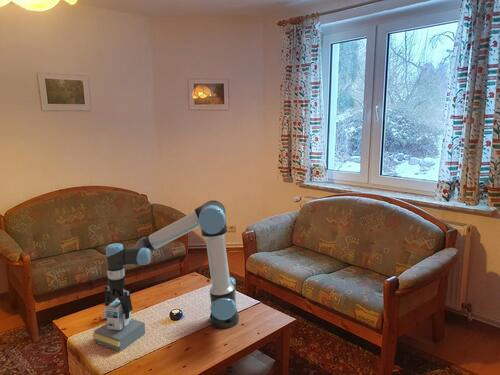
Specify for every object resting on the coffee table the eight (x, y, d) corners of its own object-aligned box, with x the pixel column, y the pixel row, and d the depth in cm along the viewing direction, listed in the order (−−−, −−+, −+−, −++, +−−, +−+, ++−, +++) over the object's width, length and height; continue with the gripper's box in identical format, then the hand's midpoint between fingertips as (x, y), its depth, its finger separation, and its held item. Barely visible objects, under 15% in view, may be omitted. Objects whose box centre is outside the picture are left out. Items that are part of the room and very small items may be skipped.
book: (145, 333, 183) (144, 322, 182) (118, 353, 169) (117, 340, 167) (120, 326, 191) (119, 315, 190) (93, 343, 176) (92, 331, 175)
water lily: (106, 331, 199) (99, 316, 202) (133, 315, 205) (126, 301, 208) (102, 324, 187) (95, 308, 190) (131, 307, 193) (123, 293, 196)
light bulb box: (120, 330, 173) (118, 308, 171) (106, 329, 174) (105, 307, 172) (132, 318, 183) (130, 298, 181) (119, 317, 185) (117, 296, 183)
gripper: (93, 275, 176) (97, 321, 180) (127, 284, 167) (130, 331, 171) (106, 270, 182) (109, 314, 186) (139, 278, 173) (141, 323, 177)
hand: (119, 322), depth 179 cm, fingers closed on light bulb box, 8 cm apart
